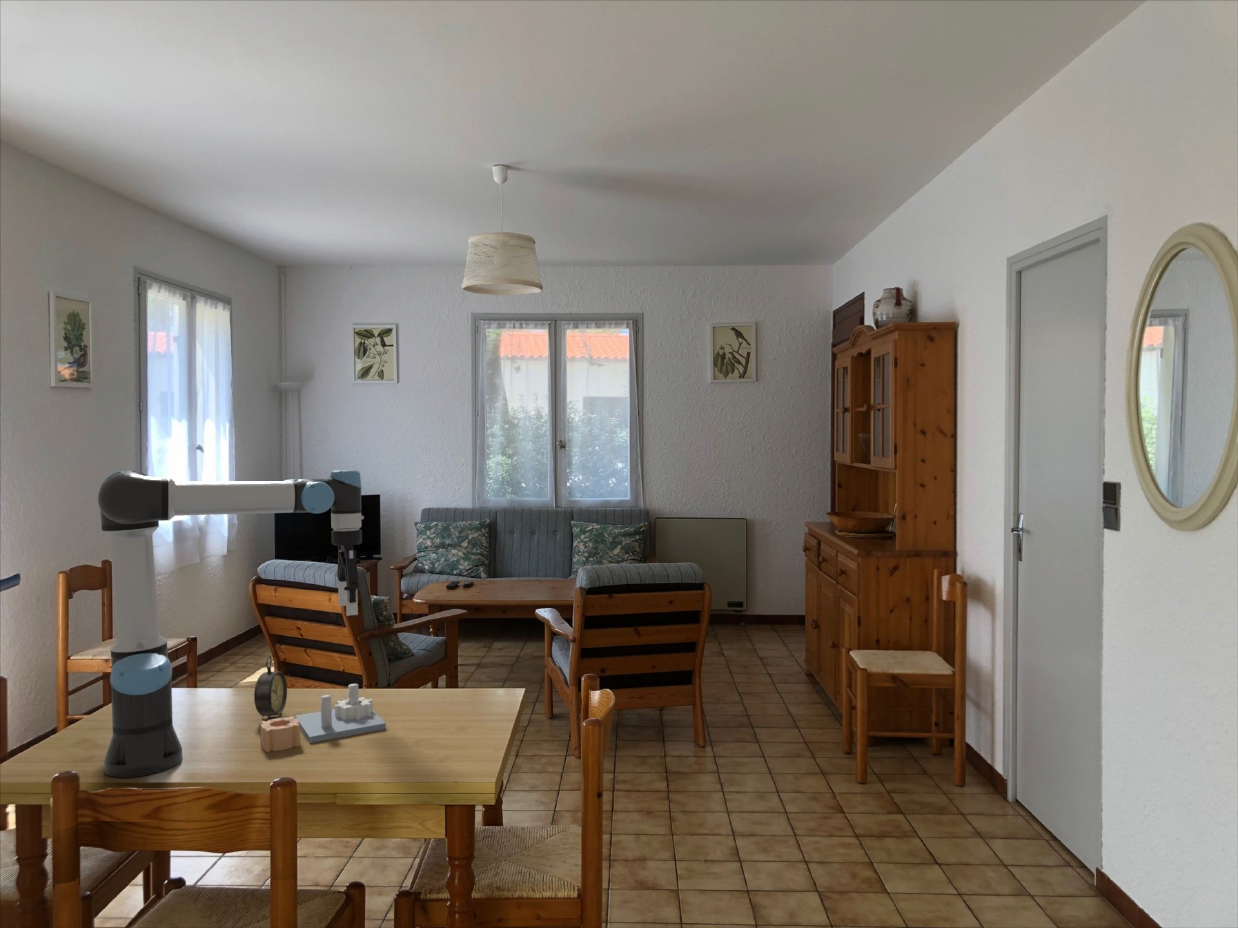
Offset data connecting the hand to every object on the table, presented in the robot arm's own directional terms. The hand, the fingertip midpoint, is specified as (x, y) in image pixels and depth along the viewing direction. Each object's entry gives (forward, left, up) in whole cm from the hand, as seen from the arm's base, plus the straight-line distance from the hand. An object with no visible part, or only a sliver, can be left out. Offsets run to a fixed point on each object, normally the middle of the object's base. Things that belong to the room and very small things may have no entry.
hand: (348, 610), depth 224 cm
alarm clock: (-19, +6, -27) cm, 33 cm away
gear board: (-5, -9, -27) cm, 29 cm away
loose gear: (-20, -15, -27) cm, 37 cm away
